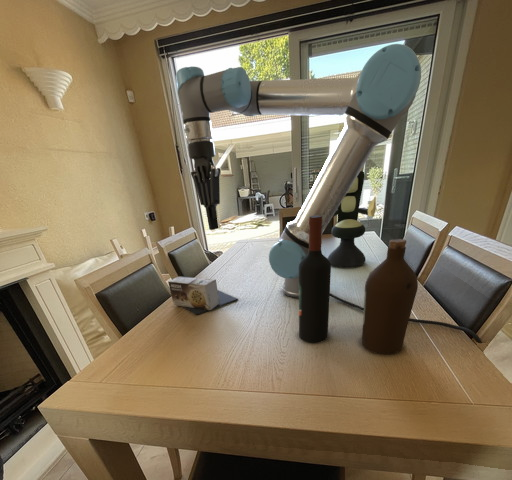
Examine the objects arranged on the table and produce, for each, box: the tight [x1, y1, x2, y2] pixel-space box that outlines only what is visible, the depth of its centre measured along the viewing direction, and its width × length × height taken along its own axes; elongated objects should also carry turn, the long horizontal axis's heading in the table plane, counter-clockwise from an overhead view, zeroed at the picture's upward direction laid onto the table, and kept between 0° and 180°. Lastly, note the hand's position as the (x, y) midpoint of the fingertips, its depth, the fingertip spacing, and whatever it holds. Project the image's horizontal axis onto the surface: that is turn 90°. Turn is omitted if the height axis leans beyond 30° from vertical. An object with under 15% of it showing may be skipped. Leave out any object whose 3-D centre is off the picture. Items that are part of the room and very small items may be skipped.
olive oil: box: [361, 238, 419, 355], centre depth 66 cm, size 11×11×25 cm
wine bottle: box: [298, 216, 332, 344], centre depth 71 cm, size 8×8×30 cm
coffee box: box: [167, 275, 220, 311], centre depth 101 cm, size 9×6×16 cm
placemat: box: [181, 290, 239, 316], centre depth 105 cm, size 14×17×1 cm
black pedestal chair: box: [326, 163, 377, 269], centre depth 122 cm, size 19×22×45 cm
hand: (214, 228), depth 94 cm, fingers closed
